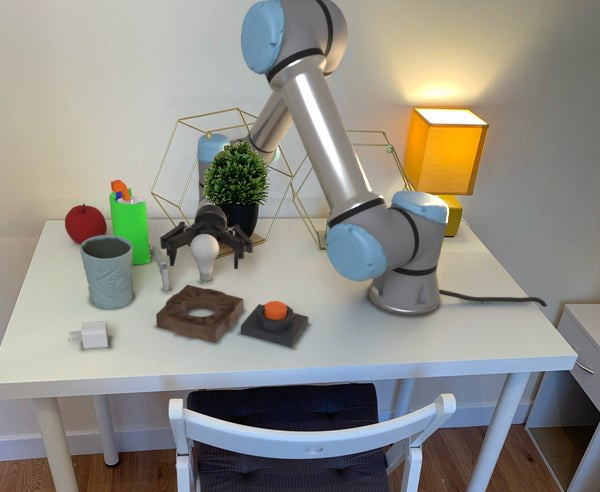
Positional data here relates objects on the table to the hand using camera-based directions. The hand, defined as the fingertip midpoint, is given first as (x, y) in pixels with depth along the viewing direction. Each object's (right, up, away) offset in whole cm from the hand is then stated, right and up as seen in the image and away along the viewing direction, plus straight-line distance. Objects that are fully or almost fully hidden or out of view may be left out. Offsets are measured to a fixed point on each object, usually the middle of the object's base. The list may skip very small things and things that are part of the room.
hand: (203, 262), depth 139 cm
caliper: (-18, -5, +4) cm, 19 cm away
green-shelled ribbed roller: (-18, +4, +14) cm, 23 cm away
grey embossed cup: (-19, -8, -1) cm, 20 cm away
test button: (+16, -12, -9) cm, 22 cm away
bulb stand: (0, -13, -5) cm, 14 cm away
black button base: (+15, -15, -6) cm, 22 cm away
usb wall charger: (-20, -19, -14) cm, 31 cm away
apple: (-30, +8, +17) cm, 35 cm away
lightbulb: (0, -3, +7) cm, 7 cm away
